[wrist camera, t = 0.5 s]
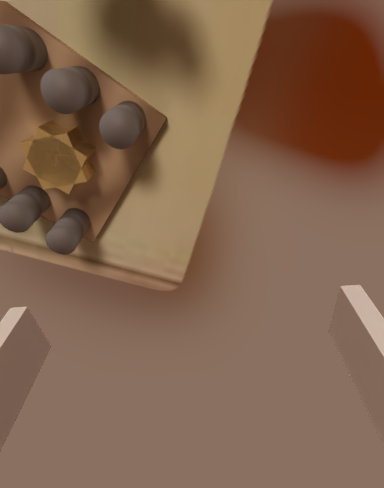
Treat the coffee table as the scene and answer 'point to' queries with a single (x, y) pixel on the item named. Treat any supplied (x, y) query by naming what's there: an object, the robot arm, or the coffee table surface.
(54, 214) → the board
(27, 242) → the coffee table surface
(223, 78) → the coffee table surface
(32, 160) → the star-shaped block
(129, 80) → the coffee table surface
